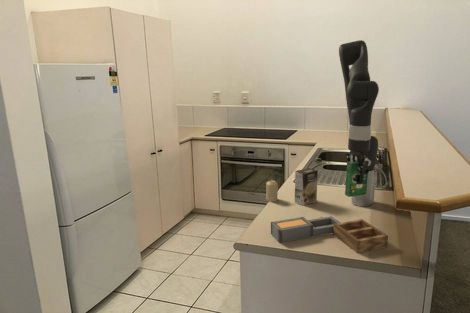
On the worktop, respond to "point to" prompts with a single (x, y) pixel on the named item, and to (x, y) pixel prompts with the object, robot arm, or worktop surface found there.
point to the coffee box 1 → (306, 186)
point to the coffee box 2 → (354, 181)
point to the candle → (272, 190)
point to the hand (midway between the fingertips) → (356, 182)
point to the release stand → (303, 229)
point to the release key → (291, 224)
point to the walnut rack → (360, 235)
